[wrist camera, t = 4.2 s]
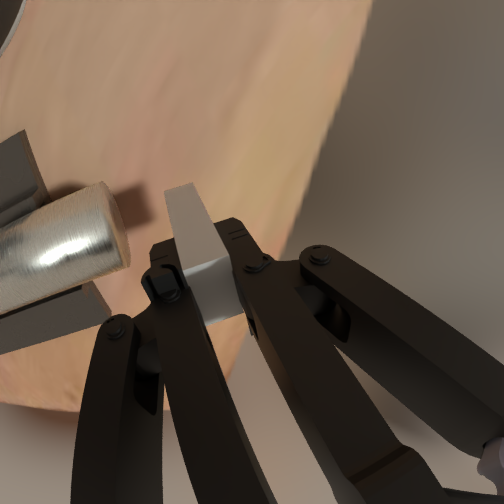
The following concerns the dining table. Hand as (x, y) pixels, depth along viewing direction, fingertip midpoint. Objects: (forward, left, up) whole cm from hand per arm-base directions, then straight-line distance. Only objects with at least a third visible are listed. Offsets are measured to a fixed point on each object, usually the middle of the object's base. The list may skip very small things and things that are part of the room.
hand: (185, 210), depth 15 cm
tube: (0, -13, -2) cm, 13 cm away
